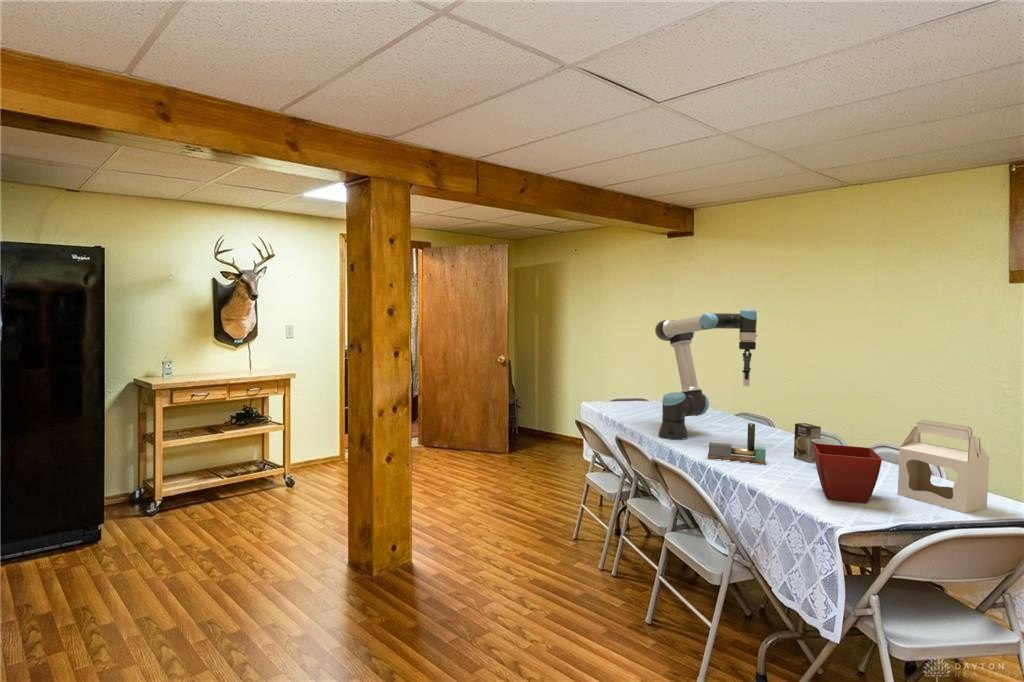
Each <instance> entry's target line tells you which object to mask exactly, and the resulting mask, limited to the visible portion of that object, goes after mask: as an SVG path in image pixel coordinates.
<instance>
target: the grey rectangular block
mask: <svg viewBox="0 0 1024 682" xmlns="http://www.w3.org/2000/svg"><path fill="white" fill-rule="evenodd" d="M732 445H733V444H732V443H723V442H721V443H720V442H712V441H710V442H709V444H708V452H709V455H711V456H721V457H731V455H732V454H731V448H733V446H732Z"/></svg>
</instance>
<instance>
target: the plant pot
mask: <svg viewBox="0 0 1024 682" xmlns="http://www.w3.org/2000/svg"><path fill="white" fill-rule="evenodd" d="M813 447H814V455H815V461H816V462H815V467H816V466H817V467H816V472H817V475H818V479H819V482H820V485H821V489H822V492H823V494H824V496H825V498H826V499H829V500H837V501H843V502H844V501H845V502H855V503H862V504H863V503H864V504H868V503H869V501H870V499H871V497H872V495H873V492H874V489H875V487H876V484H877V481H878V479H879V475H880V471H881V467H882V461H883V458H882V457H881V456H880V455H879V454H877V452H876V451H875V450H874V449H873V448H872V447H866V446H865V447H864V446H863V447H862V446H853V445H842V444H840V445H829V444H813Z"/></svg>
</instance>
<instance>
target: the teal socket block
mask: <svg viewBox="0 0 1024 682" xmlns="http://www.w3.org/2000/svg"><path fill="white" fill-rule="evenodd" d="M754 450H756V456H754V457H755V460H761V461H765V462H766V452H767V451H766V446H757V445H756V446H755V447H754Z"/></svg>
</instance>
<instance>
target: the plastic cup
mask: <svg viewBox="0 0 1024 682" xmlns="http://www.w3.org/2000/svg"><path fill="white" fill-rule="evenodd" d="M812 443H813V444H829V445H841V444H840V442H839V443H838V442H836V441H831V440H826V439H820V440H819V439H812ZM813 448H814V447H813ZM815 467H816V468H817V466H816V465H815Z"/></svg>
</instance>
